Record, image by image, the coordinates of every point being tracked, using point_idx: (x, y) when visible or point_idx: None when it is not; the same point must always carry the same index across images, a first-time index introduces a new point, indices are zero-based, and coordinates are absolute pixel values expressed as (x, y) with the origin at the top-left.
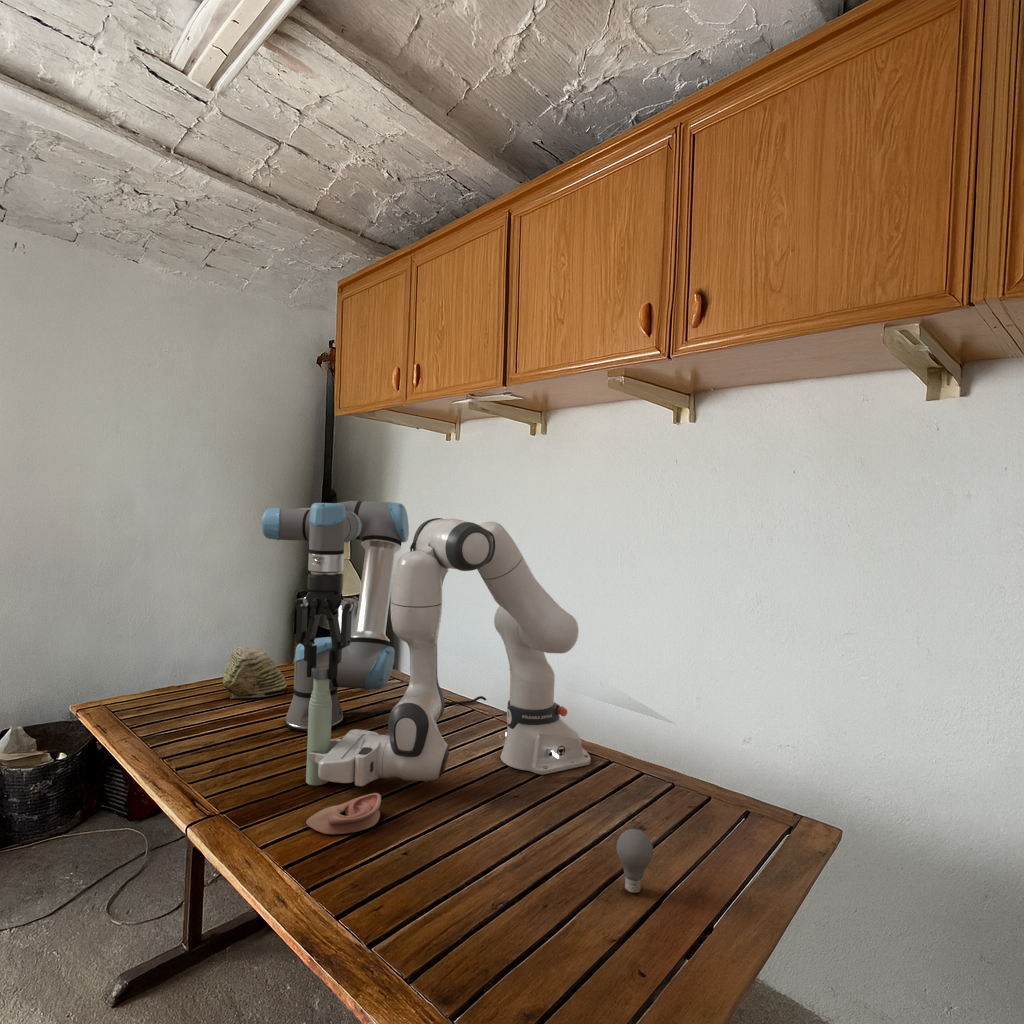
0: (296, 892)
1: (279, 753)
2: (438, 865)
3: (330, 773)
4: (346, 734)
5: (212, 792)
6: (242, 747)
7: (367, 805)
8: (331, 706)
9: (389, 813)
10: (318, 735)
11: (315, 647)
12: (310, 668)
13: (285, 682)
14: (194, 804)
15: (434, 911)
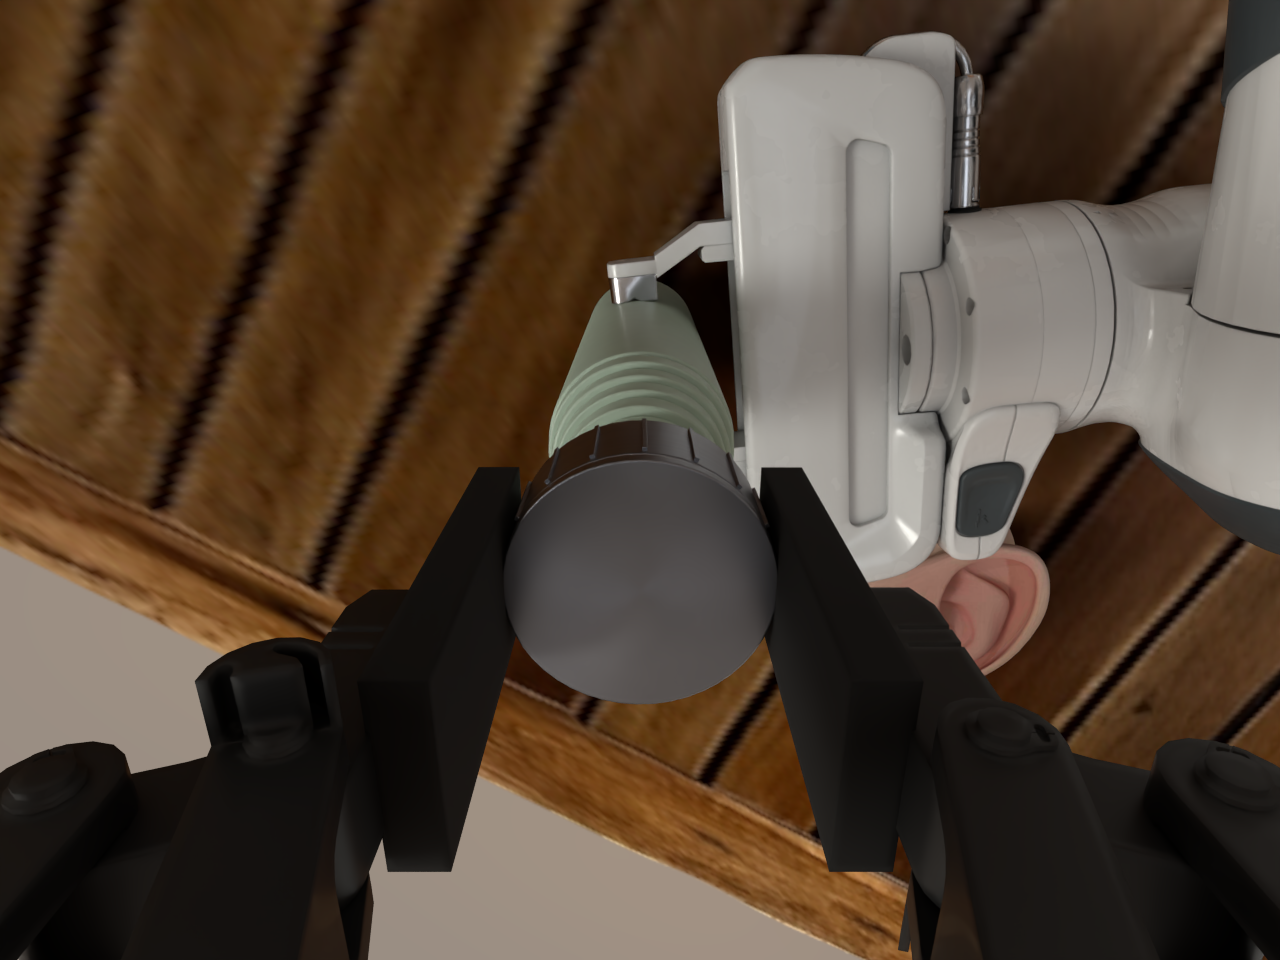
0: (895, 901)
1: (266, 81)
2: (1252, 734)
3: None
4: (739, 184)
5: (304, 546)
6: (18, 68)
7: (993, 601)
8: (732, 427)
9: (1041, 506)
10: None
11: (438, 706)
12: (511, 641)
13: None
14: (319, 635)
15: None
